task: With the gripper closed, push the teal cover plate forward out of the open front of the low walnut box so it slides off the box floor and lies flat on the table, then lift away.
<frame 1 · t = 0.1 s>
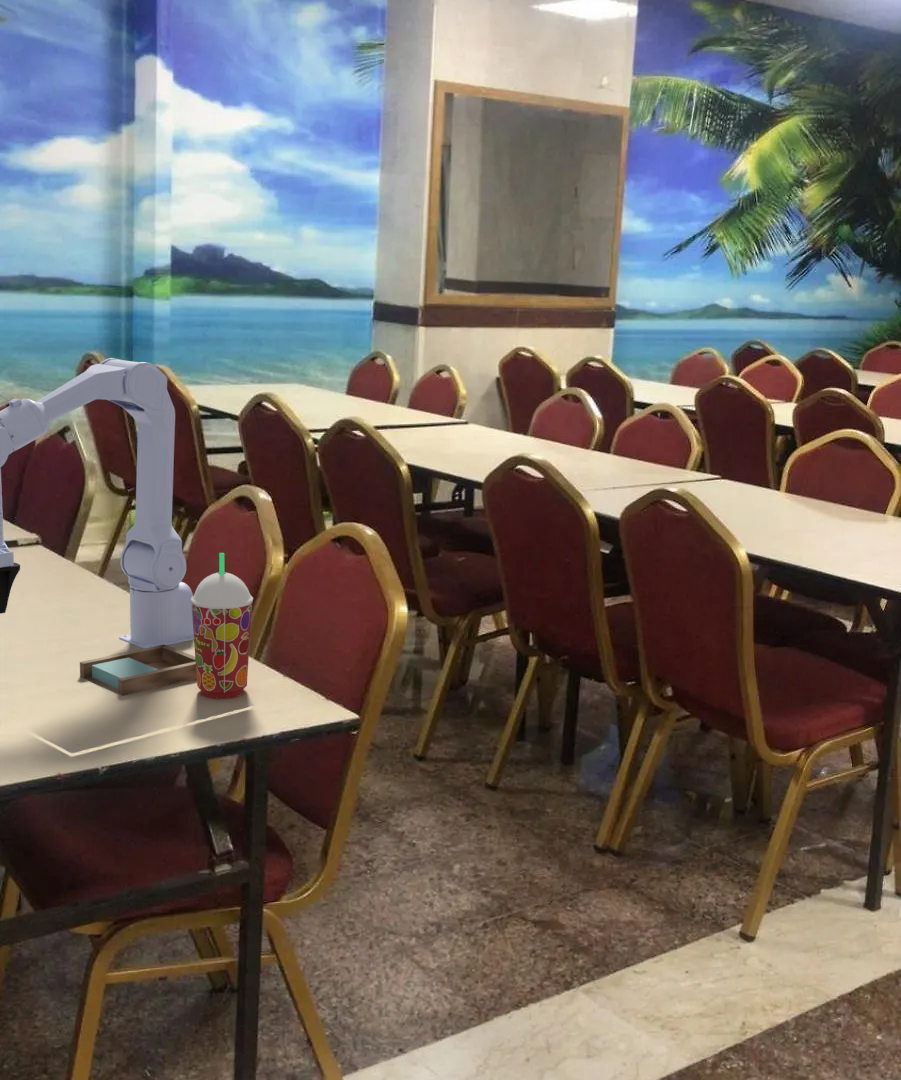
cover plate: (125, 680, 187), resting on walnut box
walnut box: (141, 679, 189), on the table
smoothie: (222, 695, 184), on the table
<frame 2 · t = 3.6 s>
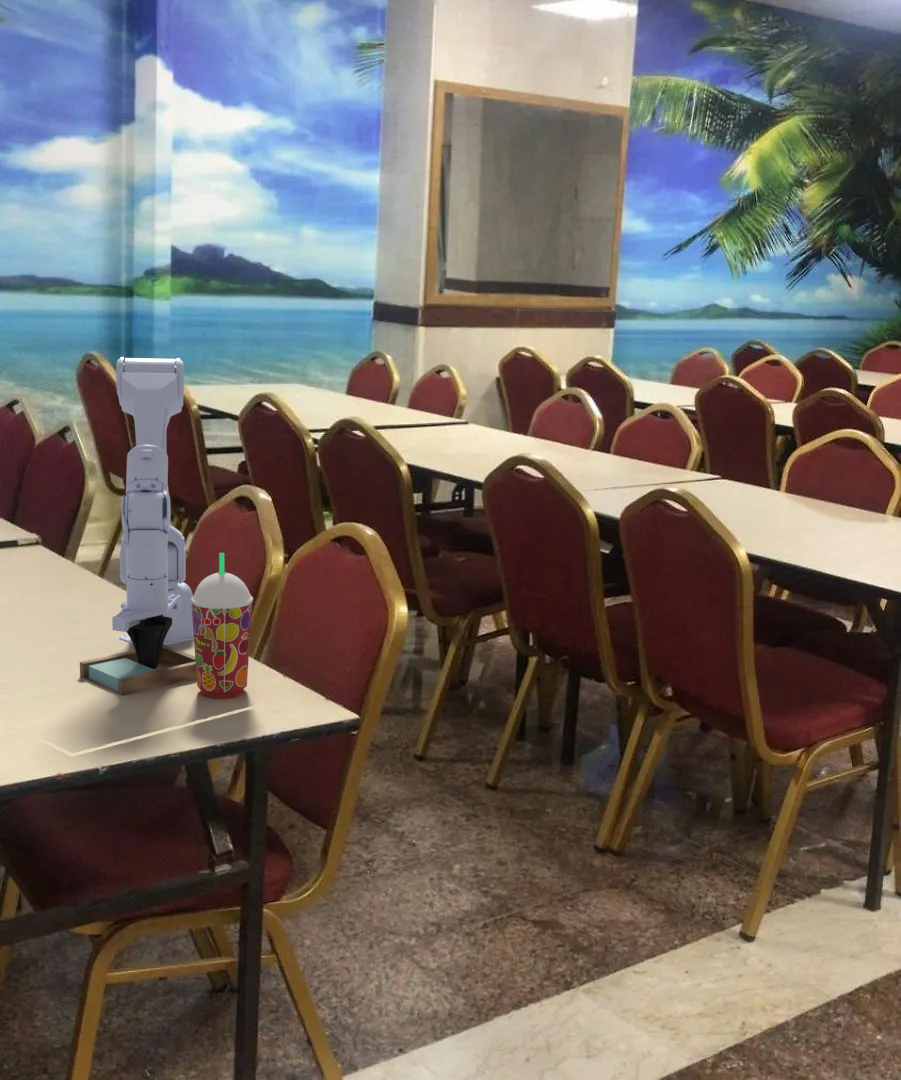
hand: (148, 668, 190), 1 cm above the table, fingers closed
cover plate: (122, 680, 187), resting on walnut box, touching gripper
everything else where it was.
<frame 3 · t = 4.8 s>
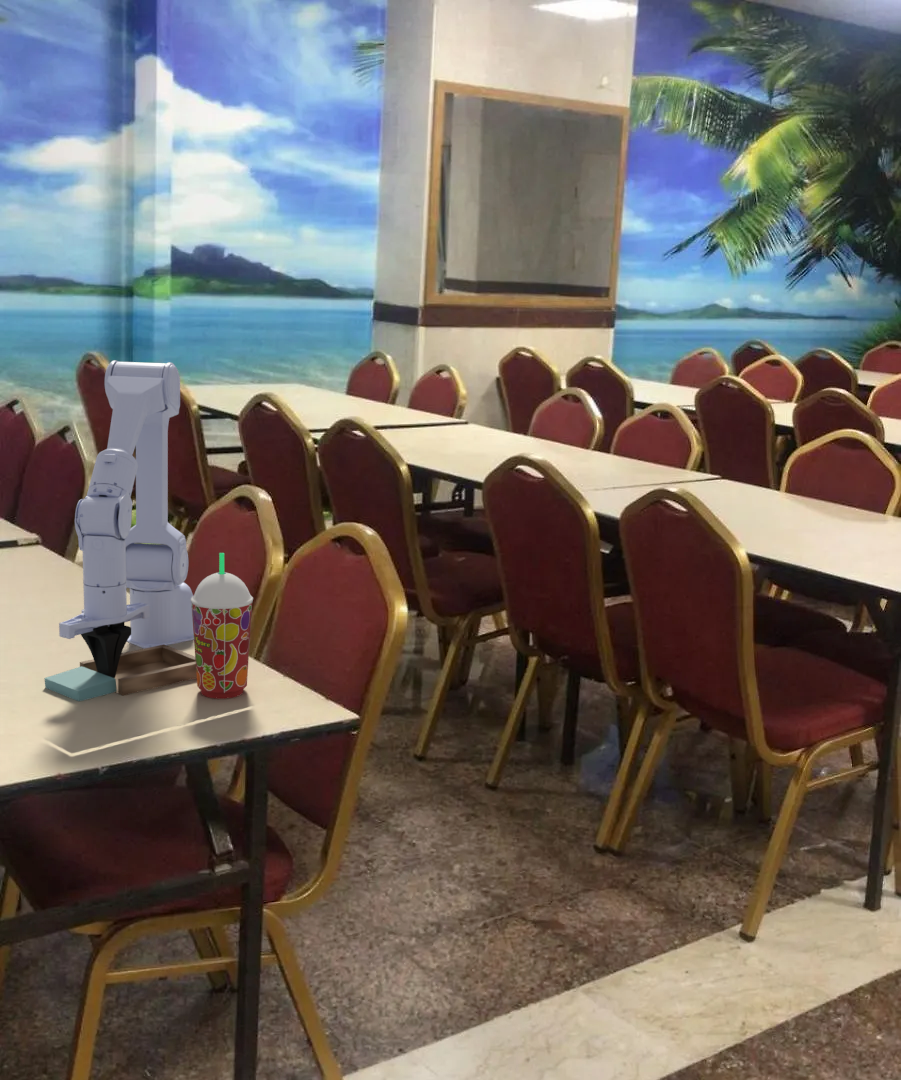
hand: (106, 677, 185), 1 cm above the table, fingers closed
cover plate: (81, 690, 183), on the table, touching gripper
everything else where it was.
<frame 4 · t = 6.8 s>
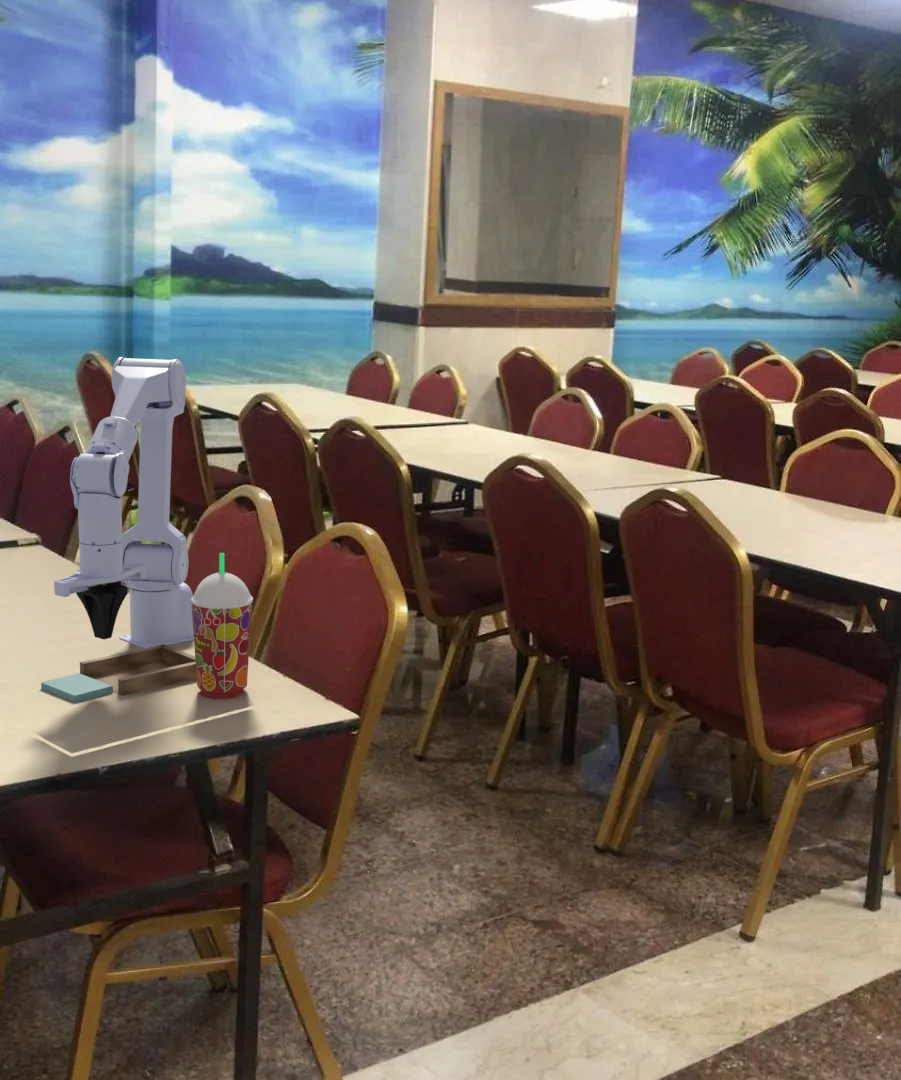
hand: (103, 637, 184), 7 cm above the table, fingers closed
cover plate: (77, 696, 183), on the table
everything else where it was.
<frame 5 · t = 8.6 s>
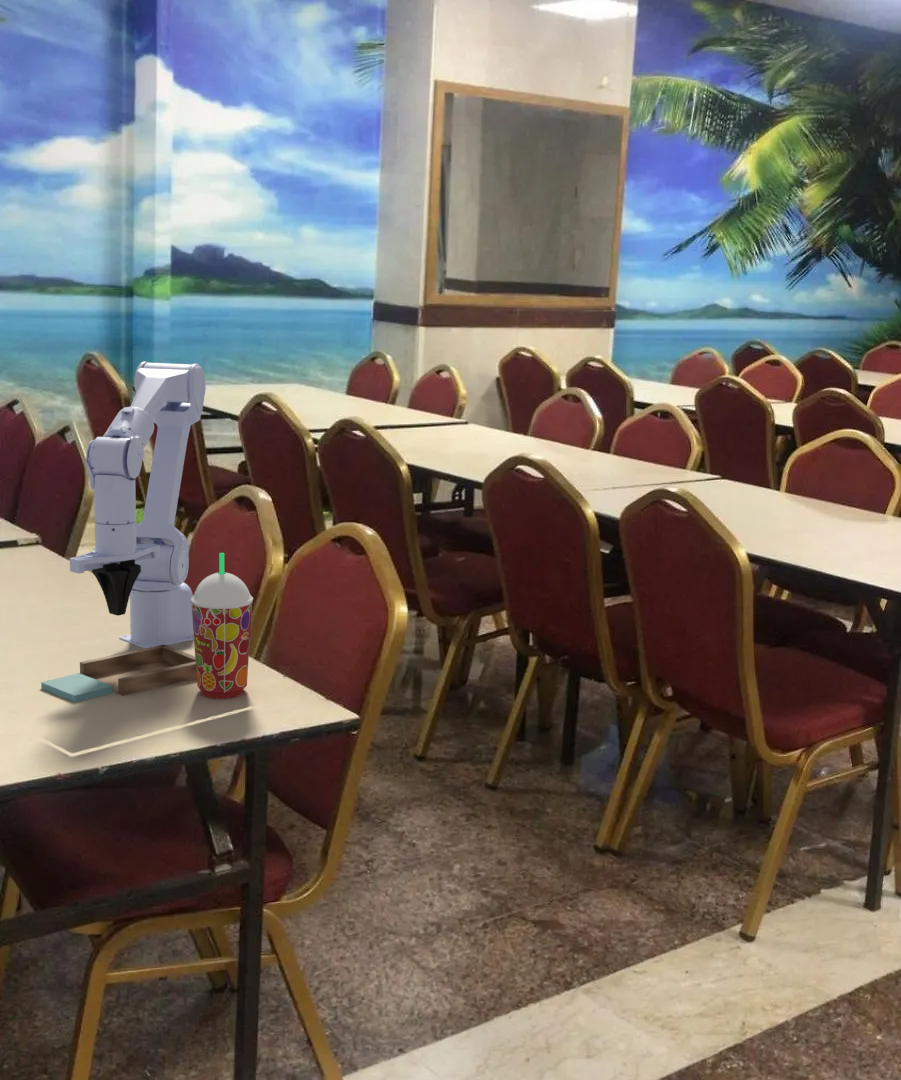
hand: (117, 613, 192), 8 cm above the table, fingers closed
nothing on the table moved.
at the end: cover plate inside the target area on the table beside the walnut box (3.5 cm from its centre), on the table; cover plate tilted 0°; cover plate touching table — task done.
